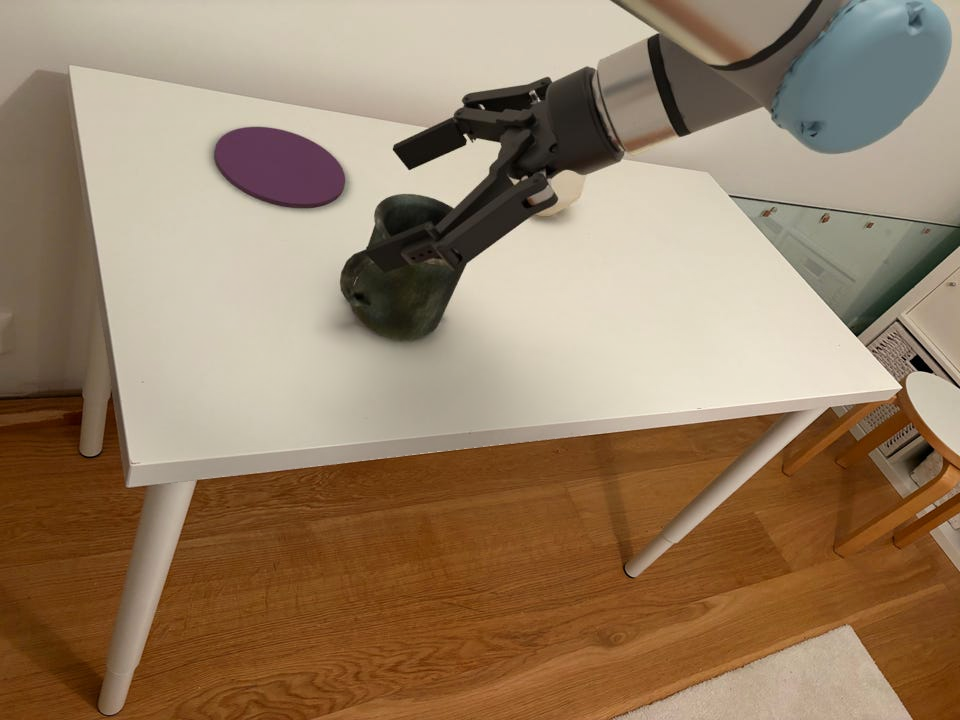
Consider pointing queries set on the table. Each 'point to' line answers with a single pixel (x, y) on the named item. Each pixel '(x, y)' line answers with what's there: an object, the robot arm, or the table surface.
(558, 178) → the cup
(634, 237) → the table surface
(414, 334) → the mug
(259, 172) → the place mat
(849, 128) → the robot arm
